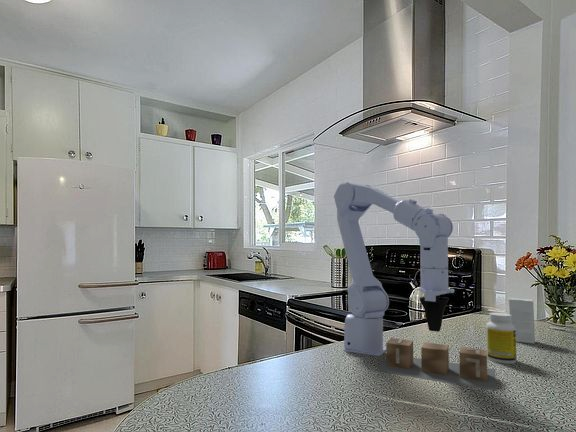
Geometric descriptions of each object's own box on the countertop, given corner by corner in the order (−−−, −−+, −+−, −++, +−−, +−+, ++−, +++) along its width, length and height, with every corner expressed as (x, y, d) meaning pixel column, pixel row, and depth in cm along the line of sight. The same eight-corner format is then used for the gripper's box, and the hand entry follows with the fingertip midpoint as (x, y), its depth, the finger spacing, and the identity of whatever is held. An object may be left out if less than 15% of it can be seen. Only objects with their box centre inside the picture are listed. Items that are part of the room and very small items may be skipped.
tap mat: (374, 371, 82) (374, 370, 82) (389, 355, 94) (389, 353, 94) (496, 392, 71) (496, 390, 71) (495, 370, 84) (495, 369, 84)
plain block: (421, 371, 82) (421, 347, 82) (424, 364, 86) (424, 342, 87) (446, 375, 80) (446, 350, 80) (448, 368, 84) (448, 345, 84)
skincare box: (534, 341, 110) (533, 299, 111) (535, 344, 107) (533, 301, 108) (510, 338, 114) (509, 297, 115) (509, 341, 110) (508, 299, 111)
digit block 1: (386, 365, 85) (386, 342, 86) (391, 359, 90) (391, 337, 90) (409, 369, 83) (409, 345, 83) (413, 363, 87) (413, 340, 88)
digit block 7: (459, 377, 78) (459, 351, 79) (461, 370, 83) (460, 346, 83) (487, 382, 76) (486, 355, 76) (487, 374, 80) (486, 349, 81)
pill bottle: (520, 366, 87) (519, 317, 88) (491, 364, 89) (490, 315, 89) (510, 358, 93) (509, 312, 94) (483, 356, 95) (482, 311, 95)
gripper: (450, 271, 76) (451, 340, 75) (456, 267, 89) (456, 326, 88) (414, 269, 79) (414, 335, 79) (424, 265, 92) (424, 323, 91)
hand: (434, 330), depth 84 cm, fingers closed
